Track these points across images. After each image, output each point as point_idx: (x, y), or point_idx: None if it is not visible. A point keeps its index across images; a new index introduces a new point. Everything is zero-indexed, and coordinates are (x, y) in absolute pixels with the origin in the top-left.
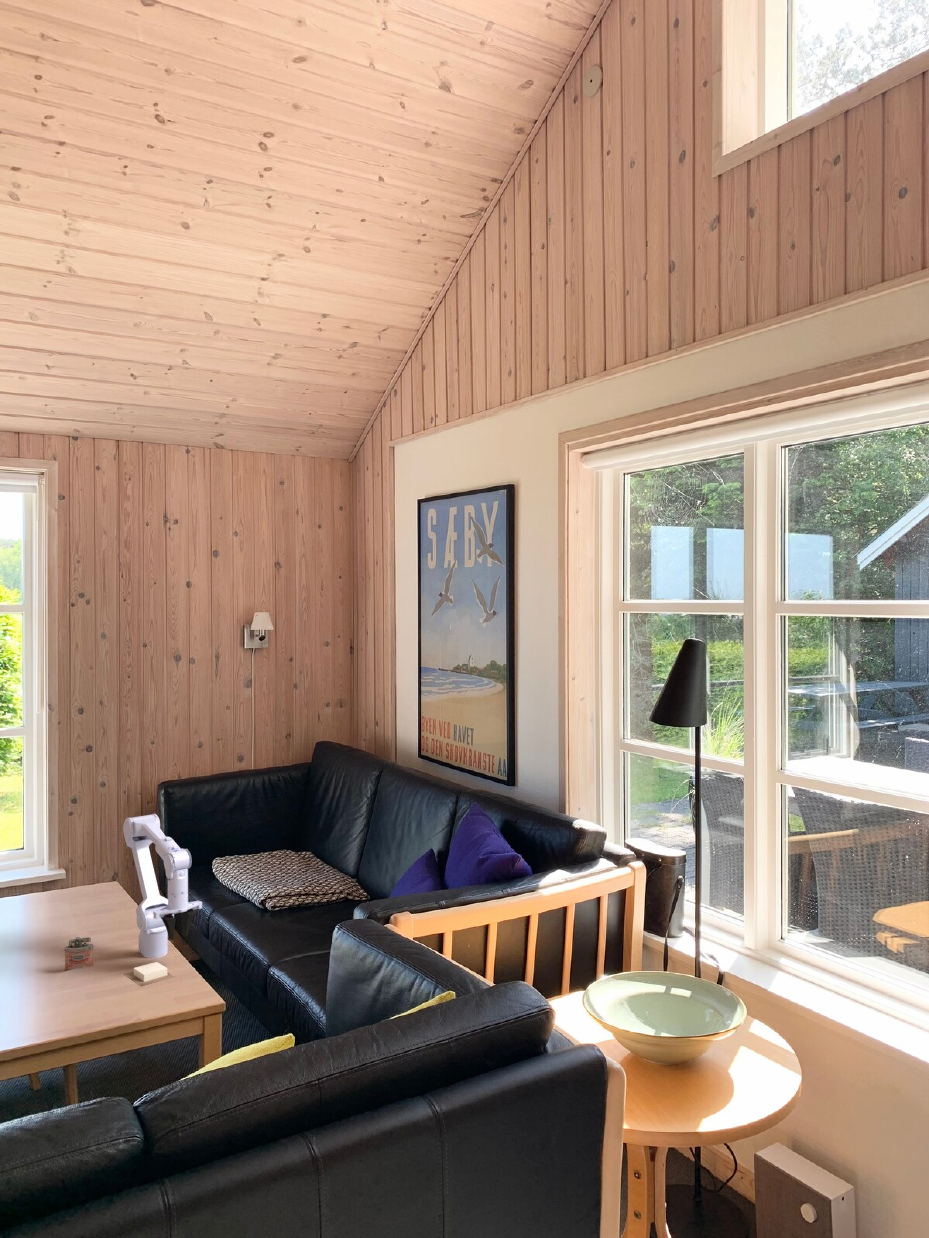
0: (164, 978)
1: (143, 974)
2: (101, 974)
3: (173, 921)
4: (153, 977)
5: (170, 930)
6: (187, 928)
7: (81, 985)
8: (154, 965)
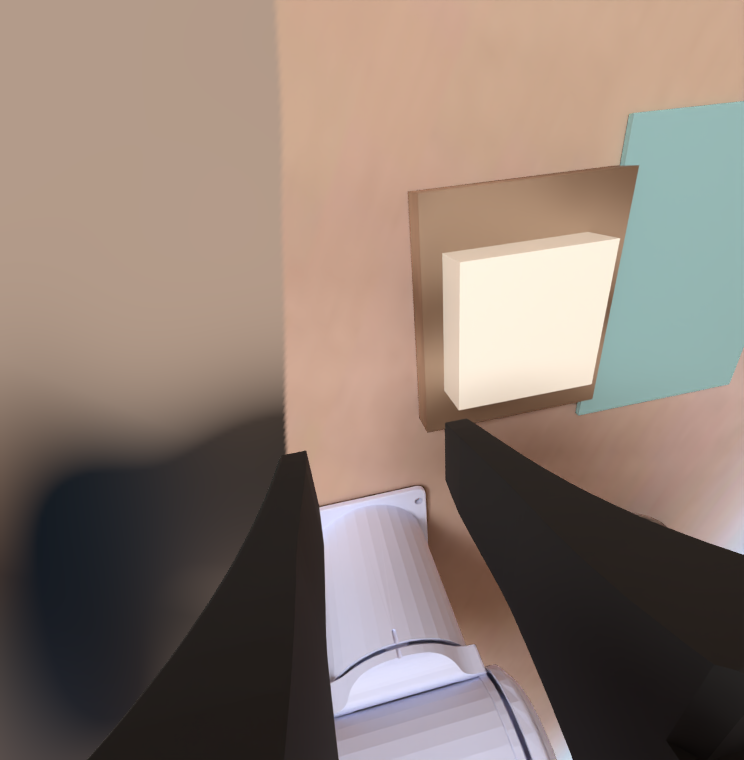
0: (480, 204)
1: (617, 247)
2: (598, 473)
3: (694, 595)
4: (536, 242)
5: (564, 485)
6: (286, 515)
7: (705, 407)
8: (495, 359)
